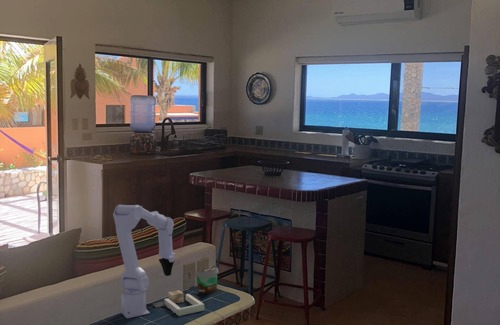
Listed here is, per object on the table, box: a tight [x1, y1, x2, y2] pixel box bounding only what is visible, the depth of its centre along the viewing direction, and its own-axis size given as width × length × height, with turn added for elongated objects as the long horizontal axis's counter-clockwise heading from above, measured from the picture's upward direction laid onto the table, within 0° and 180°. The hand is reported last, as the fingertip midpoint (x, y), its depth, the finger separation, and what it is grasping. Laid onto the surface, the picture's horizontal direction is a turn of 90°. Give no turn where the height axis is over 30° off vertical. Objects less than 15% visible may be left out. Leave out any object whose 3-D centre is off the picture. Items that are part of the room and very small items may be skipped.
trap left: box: [151, 301, 167, 309], centre depth 224 cm, size 4×6×1 cm
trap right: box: [190, 294, 201, 300], centre depth 231 cm, size 4×6×1 cm
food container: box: [195, 264, 219, 294], centre depth 239 cm, size 12×6×10 cm, turn 143°
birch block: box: [167, 290, 185, 305], centre depth 227 cm, size 5×5×4 cm
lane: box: [163, 293, 205, 317], centre depth 219 cm, size 11×16×2 cm, turn 28°
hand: (167, 275), depth 235 cm, fingers closed
